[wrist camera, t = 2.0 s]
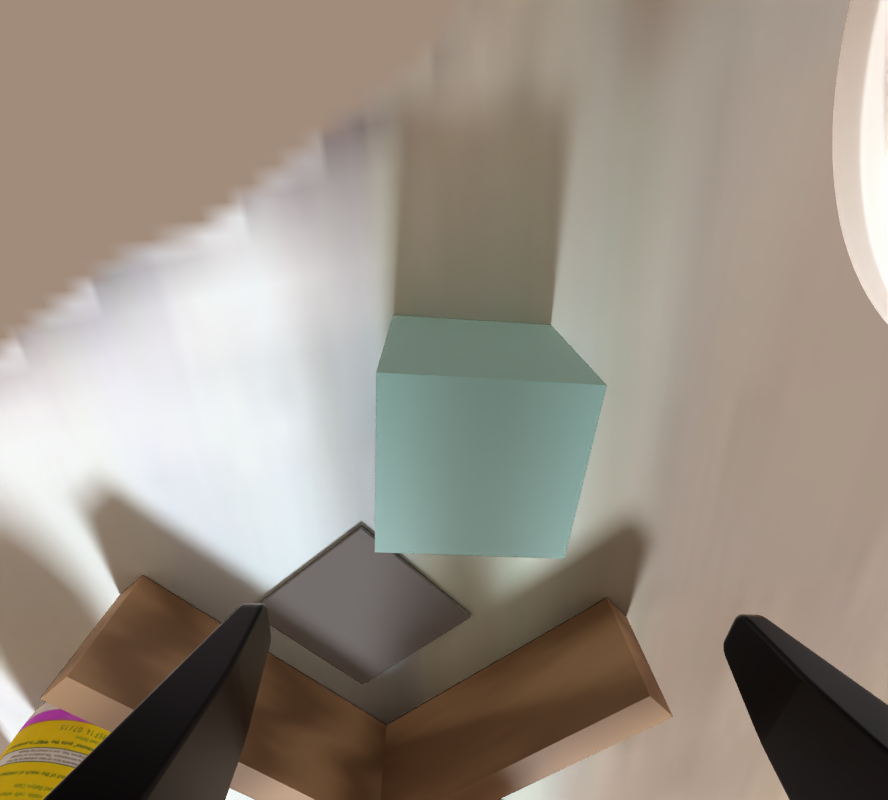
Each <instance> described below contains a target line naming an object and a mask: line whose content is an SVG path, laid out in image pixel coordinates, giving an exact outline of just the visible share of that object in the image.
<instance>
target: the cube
mask: <svg viewBox="0 0 888 800" xmlns="http://www.w3.org/2000/svg"><path fill="white" fill-rule="evenodd" d="M606 387H607V385H606V384H605V383H604V382H603V381H602V380H601V379H600V377H599V376H598V375H597V374H596V373H595V372H594V371H593V370H592V369H591V368H590V367H589V366H588V364H587V363H586V362H585V361H584V360H583V359H582V358H581V357H580V356H579V355H578V354H577V353H576V352H575V350H574V349H573V348H572V347H571V346H570V345H569V344H568V343H567V342H566V341H565V340H564V339H563V337H562V336H561V335H560V334H559V333H558V332H557V331H556V330H555V329H554V328H553V327H552V326H551V325H545V324H529V323H514V322H498V321H482V320H466V319H451V318H435V317H419V316H403V315H393V318H392V322H391V325H390V328H389V332H388V335H387V338H386V342H385V345H384V348H383V352H382V355H381V358H380V362H379V365H378V368H377V372H376V462H375V552H381V553H410V554H440V555H470V556H500V557H530V558H560V559H564V558H565V554H566V550H567V546H568V542H569V537H570V533H571V529H572V525H573V521H574V517H575V513H576V509H577V505H578V501H579V497H580V493H581V489H582V485H583V480H584V476H585V472H586V468H587V464H588V460H589V456H590V452H591V448H592V444H593V440H594V436H595V432H596V427H597V423H598V419H599V415H600V411H601V407H602V403H603V399H604V395H605V391H606Z"/></svg>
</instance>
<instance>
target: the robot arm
mask: <svg viewBox="0 0 888 800" xmlns="http://www.w3.org/2000/svg"><path fill="white" fill-rule="evenodd" d="M270 638H271V633H270V626H269V618H268V611H267V607H266V605H265V604H262V603H244V604H242V605H240V606H239V607H238V608H237V609H236V610H235V611H234V612H233V613H232V614H231V615H230V616H229V617H228V618H227V619H226V620H225V621H224V622H223V623H222V624H221V625H220V626H219V627H218V628H217V629H216V630H215V631H213V632H212V633H211V634H210V635H209V636H208V637H207V638H206V639H205V640H204V641H203V642H202V643H201V644H200V645H199V646H198V647H197V648H196V649H195V650H194V651H193V652H192V653H191V654H190V655H189V656H188V657H187V658H186V659H185V660H184V661H183V662H182V663H181V664H180V665H179V666H178V667H177V668H176V669H175V670H174V671H173V672H172V673H171V674H170V675H169V676H168V677H167V678H166V679H165V680H164V681H163V682H162V683H161V684H160V685H159V686H158V687H157V688H156V689H155V690H154V691H153V692H152V693H151V694H150V695H148V696H147V697H146V698H145V699H144V700H143V701H142V702H141V703H140V704H139V705H138V706H137V707H136V708H135V709H134V710H133V711H132V712H131V713H130V714H129V715H128V716H127V717H126V718H125V719H124V720H123V721H122V722H121V723H120V724H119V725H118V726H117V727H116V728H115V729H114V730H113V731H112V732H111V733H110V734H109V735H108V736H107V737H106V738H105V739H104V740H103V741H102V742H101V743H100V744H99V745H98V746H97V747H96V748H95V749H94V750H93V751H92V752H91V753H90V754H89V755H88V756H87V757H86V758H84V759H83V760H82V761H81V762H80V763H79V764H78V765H77V766H76V767H75V768H74V769H73V770H72V771H71V772H70V773H69V774H68V775H67V776H66V777H65V778H64V779H63V780H62V781H61V782H60V783H59V784H58V785H57V786H56V787H55V788H54V789H53V790H52V791H51V792H50V793H49V794H48V795H47V796H46V797H45V798H44V799H43V800H225V798H226V796H227V793H228V790H229V787H230V784H231V781H232V779H233V776H234V773H235V770H236V767H237V765H238V762H239V759H240V756H241V753H242V750H243V747H244V744H245V741H246V737H247V733H248V730H249V726H250V722H251V718H252V714H253V710H254V706H255V702H256V698H257V694H258V690H259V686H260V682H261V678H262V674H263V670H264V666H265V662H266V658H267V654H268V650H269V646H270ZM724 653H725V656H726V659H727V662H728V664H729V666H730V669H731V671H732V674H733V676H734V679H735V681H736V684H737V686H738V688H739V691H740V693H741V696H742V698H743V701H744V703H745V706H746V708H747V710H748V713H749V715H750V718H751V720H752V723H753V725H754V727H755V730H756V732H757V734H758V737H759V739H760V741H761V744H762V746H763V748H764V750H765V752H766V754H767V756H768V758H769V760H770V762H771V764H772V766H773V768H774V770H775V772H776V774H777V776H778V778H779V780H780V782H781V784H782V786H783V788H784V790H785V792H786V794H787V796H788V798H789V800H888V705H887V704H886V703H884V702H883V701H881V700H880V699H879V698H877V697H876V696H874V695H873V694H872V693H870V692H869V691H867V690H866V689H865V688H863V687H862V686H860V685H859V684H858V683H856V682H855V681H853V680H852V679H851V678H849V677H848V676H846V675H845V674H843V673H842V672H841V671H839V670H838V669H836V668H835V667H834V666H832V665H831V664H829V663H828V662H827V661H825V660H824V659H822V658H821V657H820V656H818V655H817V654H815V653H814V652H813V651H811V650H810V649H808V648H807V647H806V646H804V645H803V644H801V643H800V642H799V641H797V640H796V639H794V638H793V637H792V636H790V635H789V634H787V633H786V632H785V631H783V630H782V629H780V628H779V627H778V626H776V625H775V624H773V623H772V622H771V621H769V620H768V619H766V618H765V617H763V616H760V615H739V616H737V617H736V619H735V620H734V622H733V624H732V626H731V628H730V631H729V633H728V635H727V637H726V639H725V641H724Z"/></svg>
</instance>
